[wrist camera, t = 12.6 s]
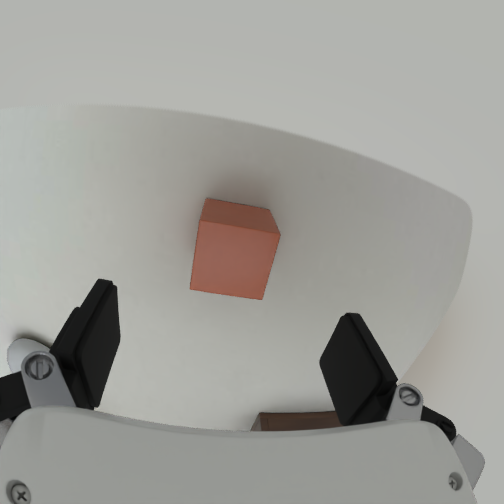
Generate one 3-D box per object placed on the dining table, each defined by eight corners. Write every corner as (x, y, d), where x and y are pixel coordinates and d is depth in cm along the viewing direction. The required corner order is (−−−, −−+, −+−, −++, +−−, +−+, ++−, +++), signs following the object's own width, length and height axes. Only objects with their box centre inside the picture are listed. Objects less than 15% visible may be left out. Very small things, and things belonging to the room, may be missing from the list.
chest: (259, 412, 30) (267, 476, 22) (350, 409, 32) (369, 463, 24) (236, 457, 36) (239, 504, 28) (309, 455, 39) (318, 497, 31)
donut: (84, 359, 25) (11, 318, 22) (75, 383, 22) (-3, 337, 19) (77, 398, 28) (16, 365, 25) (71, 418, 25) (7, 383, 22)
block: (205, 197, 18) (199, 219, 15) (269, 209, 19) (281, 234, 15) (196, 256, 20) (189, 290, 16) (255, 265, 21) (262, 300, 17)
